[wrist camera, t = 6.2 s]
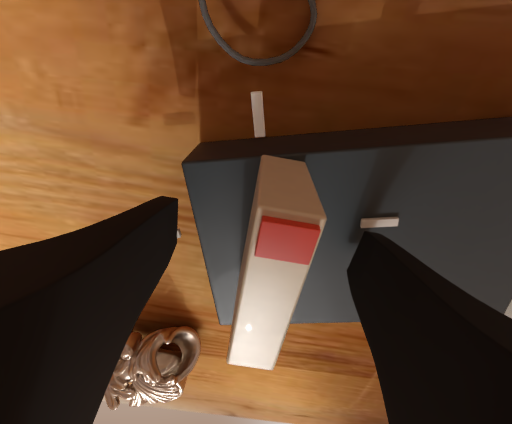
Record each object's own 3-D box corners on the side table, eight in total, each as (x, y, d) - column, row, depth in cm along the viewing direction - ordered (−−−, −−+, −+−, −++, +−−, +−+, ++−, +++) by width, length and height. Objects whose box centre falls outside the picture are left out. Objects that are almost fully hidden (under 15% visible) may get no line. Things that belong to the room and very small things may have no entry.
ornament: (143, 291, 17) (114, 342, 14) (221, 340, 19) (212, 395, 16) (87, 342, 20) (52, 394, 17) (160, 380, 22) (142, 433, 19)
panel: (195, 285, 17) (180, 329, 14) (143, 98, 11) (101, 107, 8) (461, 276, 15) (504, 322, 12) (545, 57, 10) (652, 52, 7)
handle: (272, 284, 12) (273, 379, 8) (238, 278, 12) (224, 372, 8) (306, 161, 9) (330, 223, 5) (261, 153, 9) (256, 211, 5)
